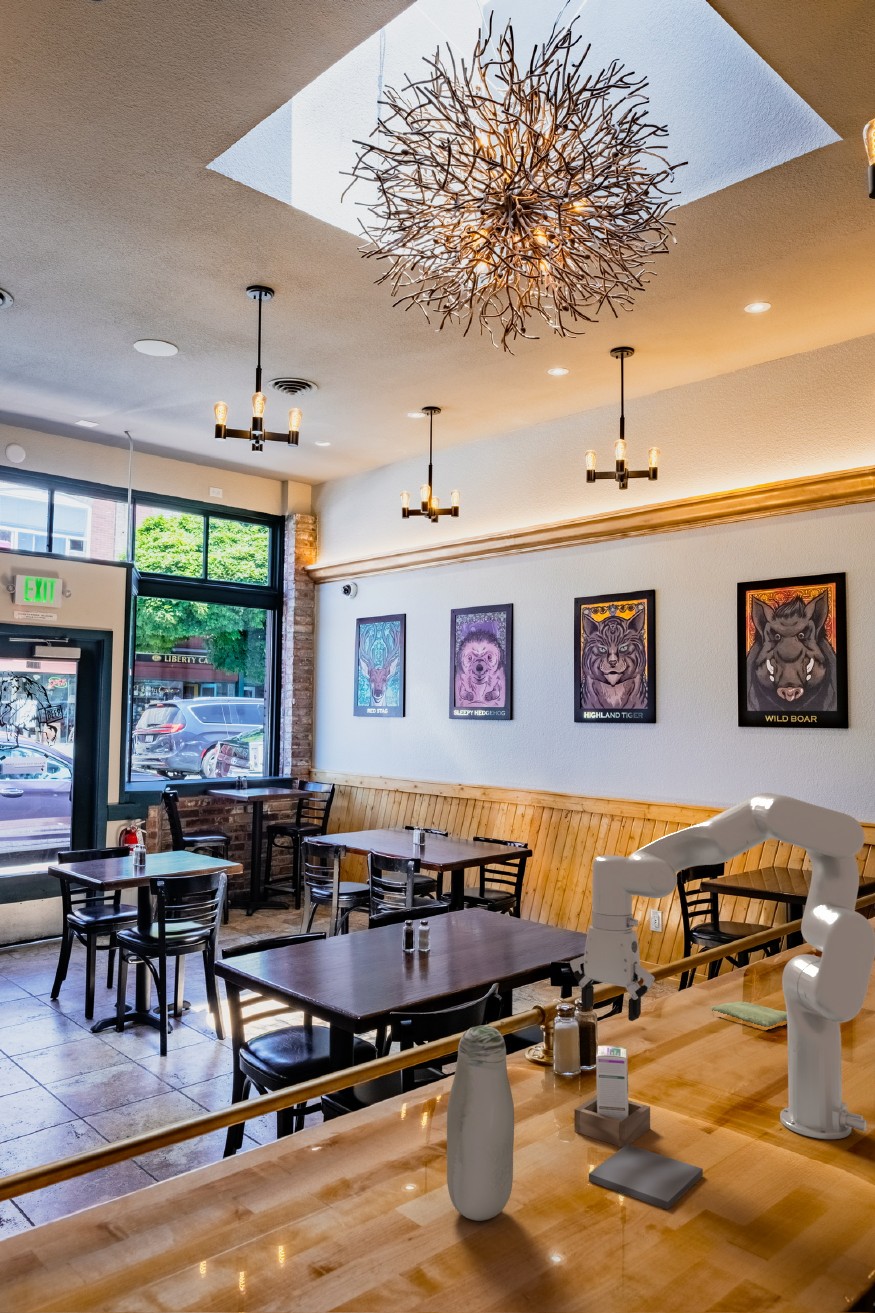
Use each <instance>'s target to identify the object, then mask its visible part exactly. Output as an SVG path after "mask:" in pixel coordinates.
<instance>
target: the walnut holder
mask: <svg viewBox="0 0 875 1313" xmlns="http://www.w3.org/2000/svg"><path fill="white" fill-rule="evenodd" d="M573 1111H574V1119H573V1120H574V1121H573V1123H574V1128H573V1129H574V1130H573V1131H574V1132H575V1133H579V1134H582V1135H584V1136H586V1137H587V1136H588V1137H590V1138H593V1139H597V1140H599V1141H603V1142H606V1143H609V1144H612V1145H614V1146H618V1147H621V1148H623V1147H624V1146H625V1145H626V1144H630V1145H631V1144H632V1143H634V1142H635V1141H636V1140H637V1139H638V1137H639V1138H640V1137H641V1136H644V1134H645V1133H646V1132H648V1131H649V1130H651V1106H649V1105H646V1104H642V1103H639V1102H636V1101H632V1100H629V1099H628V1117H627V1118H625V1119H624V1120H623V1121H621V1120H617V1119H614V1118H611V1117H608V1116H605V1115H601V1114H598V1113H597V1094H596V1095H594V1096H593V1097H591V1098H590V1099H588V1100H587V1101H585V1102H584V1103H582V1104H581V1105H579V1106H577V1107H576V1108H574V1110H573ZM648 1129H649V1130H648ZM633 1141H634V1142H633Z"/></svg>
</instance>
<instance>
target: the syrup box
mask: <svg viewBox="0 0 875 1313" xmlns="http://www.w3.org/2000/svg"><path fill="white" fill-rule="evenodd" d="M595 1057H596V1058H595V1059H596V1061H595V1063H596V1095H597V1113H598V1114H601V1115H605V1116H608V1117H611V1118H614V1119H617V1120H621V1121H623V1120H624V1119H625V1118H627V1117H628V1100H629V1073H628V1050H627V1047H624V1046H619V1045H618V1046H615V1045H598V1046H597V1050H596V1056H595Z"/></svg>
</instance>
